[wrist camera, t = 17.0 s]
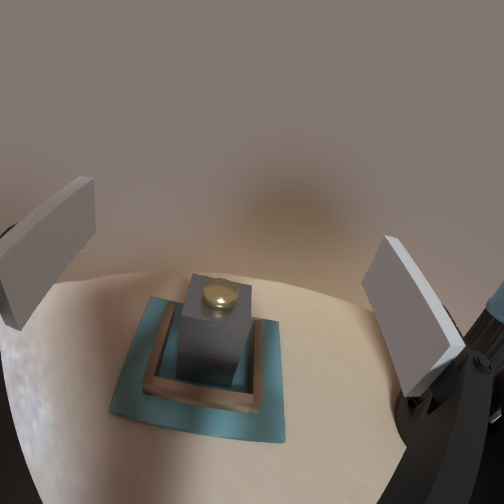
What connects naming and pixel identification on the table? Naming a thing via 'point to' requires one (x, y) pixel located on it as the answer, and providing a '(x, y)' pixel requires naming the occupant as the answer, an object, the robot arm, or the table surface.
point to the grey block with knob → (213, 330)
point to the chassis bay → (198, 394)
